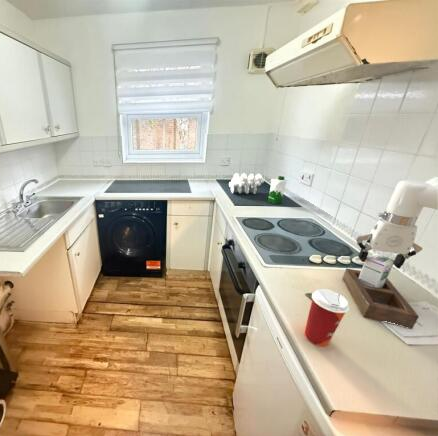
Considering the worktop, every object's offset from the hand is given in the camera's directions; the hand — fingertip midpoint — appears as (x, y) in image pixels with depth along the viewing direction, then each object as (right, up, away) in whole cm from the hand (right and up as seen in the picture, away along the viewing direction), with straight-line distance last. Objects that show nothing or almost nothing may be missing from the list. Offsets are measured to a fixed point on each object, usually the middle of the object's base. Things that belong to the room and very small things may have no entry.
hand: (378, 263), depth 84 cm
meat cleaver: (-23, -14, -1) cm, 27 cm away
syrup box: (0, -12, +5) cm, 13 cm away
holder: (-2, -13, +1) cm, 13 cm away
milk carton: (+16, +28, +99) cm, 104 cm away
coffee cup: (-32, -20, -14) cm, 40 cm away
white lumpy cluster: (+1, +37, +121) cm, 127 cm away
